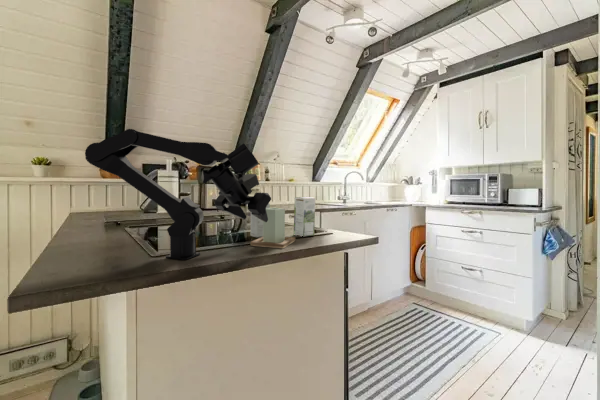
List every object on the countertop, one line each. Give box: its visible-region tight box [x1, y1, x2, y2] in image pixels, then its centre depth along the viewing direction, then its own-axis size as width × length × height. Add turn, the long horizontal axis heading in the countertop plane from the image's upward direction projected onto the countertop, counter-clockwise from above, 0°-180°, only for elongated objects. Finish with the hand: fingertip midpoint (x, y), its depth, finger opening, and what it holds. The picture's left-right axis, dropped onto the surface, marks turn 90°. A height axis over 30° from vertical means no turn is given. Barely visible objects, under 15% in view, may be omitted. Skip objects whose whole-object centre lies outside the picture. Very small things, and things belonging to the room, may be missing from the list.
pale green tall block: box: [263, 207, 286, 243], centre depth 98 cm, size 5×5×11 cm
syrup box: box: [293, 196, 316, 238], centre depth 112 cm, size 6×6×14 cm
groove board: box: [250, 236, 296, 249], centre depth 98 cm, size 12×11×1 cm
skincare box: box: [250, 202, 271, 238], centre depth 110 cm, size 6×4×12 cm
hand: (255, 219), depth 91 cm, fingers open, 9 cm apart
